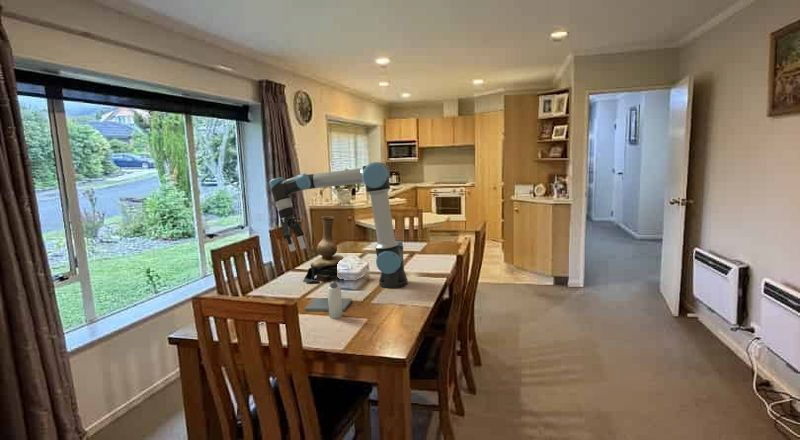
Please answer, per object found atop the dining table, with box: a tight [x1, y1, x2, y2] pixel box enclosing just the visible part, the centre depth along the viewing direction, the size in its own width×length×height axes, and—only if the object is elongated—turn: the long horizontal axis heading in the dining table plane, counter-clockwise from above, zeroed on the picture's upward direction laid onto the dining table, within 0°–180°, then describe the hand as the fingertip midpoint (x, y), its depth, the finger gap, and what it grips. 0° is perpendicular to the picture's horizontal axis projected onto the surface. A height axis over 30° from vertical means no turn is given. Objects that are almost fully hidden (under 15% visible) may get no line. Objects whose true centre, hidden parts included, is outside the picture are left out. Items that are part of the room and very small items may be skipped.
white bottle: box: [327, 281, 343, 320], centre depth 181 cm, size 6×6×15 cm
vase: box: [302, 215, 345, 285], centre depth 241 cm, size 24×22×35 cm
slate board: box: [304, 297, 353, 312], centre depth 195 cm, size 18×14×1 cm
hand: (298, 249), depth 209 cm, fingers open, 13 cm apart
